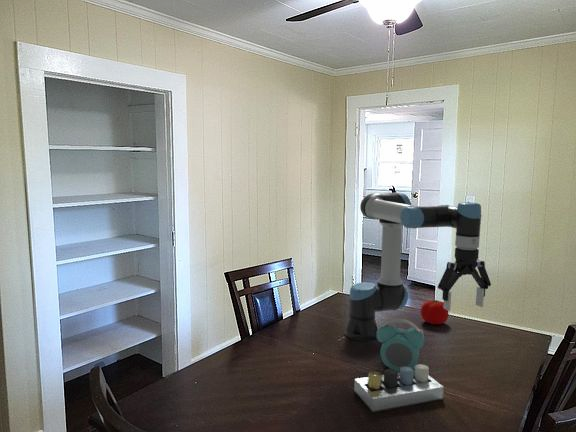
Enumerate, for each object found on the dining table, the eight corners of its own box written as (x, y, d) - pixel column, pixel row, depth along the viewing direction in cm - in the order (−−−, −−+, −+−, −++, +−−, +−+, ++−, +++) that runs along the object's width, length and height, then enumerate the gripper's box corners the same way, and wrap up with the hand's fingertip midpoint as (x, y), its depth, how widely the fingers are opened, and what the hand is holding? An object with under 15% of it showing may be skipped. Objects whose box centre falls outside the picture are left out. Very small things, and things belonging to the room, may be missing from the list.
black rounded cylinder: (381, 386, 144) (381, 370, 143) (392, 385, 145) (393, 368, 144) (388, 393, 140) (388, 376, 139) (399, 391, 141) (400, 374, 140)
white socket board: (354, 391, 146) (354, 379, 145) (419, 380, 154) (420, 368, 153) (372, 412, 134) (373, 399, 133) (442, 399, 141) (443, 386, 141)
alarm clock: (423, 366, 165) (425, 316, 162) (422, 377, 156) (424, 325, 153) (377, 359, 170) (379, 310, 168) (374, 369, 161) (376, 319, 159)
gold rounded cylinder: (365, 389, 142) (365, 372, 141) (376, 387, 143) (377, 370, 143) (371, 396, 138) (372, 378, 137) (383, 394, 139) (384, 376, 138)
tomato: (452, 328, 203) (453, 304, 202) (423, 327, 204) (425, 304, 202) (443, 318, 216) (444, 296, 214) (416, 318, 216) (417, 296, 214)
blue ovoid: (396, 384, 146) (397, 367, 145) (407, 382, 147) (408, 365, 146) (403, 390, 141) (404, 373, 141) (415, 388, 143) (416, 371, 142)
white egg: (411, 381, 147) (412, 365, 147) (422, 379, 149) (423, 363, 148) (419, 388, 143) (420, 371, 142) (430, 386, 145) (431, 369, 144)
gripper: (443, 251, 139) (439, 314, 141) (504, 248, 146) (500, 307, 149) (429, 247, 146) (426, 307, 148) (488, 244, 153) (484, 301, 156)
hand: (463, 307), depth 149 cm, fingers open, 13 cm apart
